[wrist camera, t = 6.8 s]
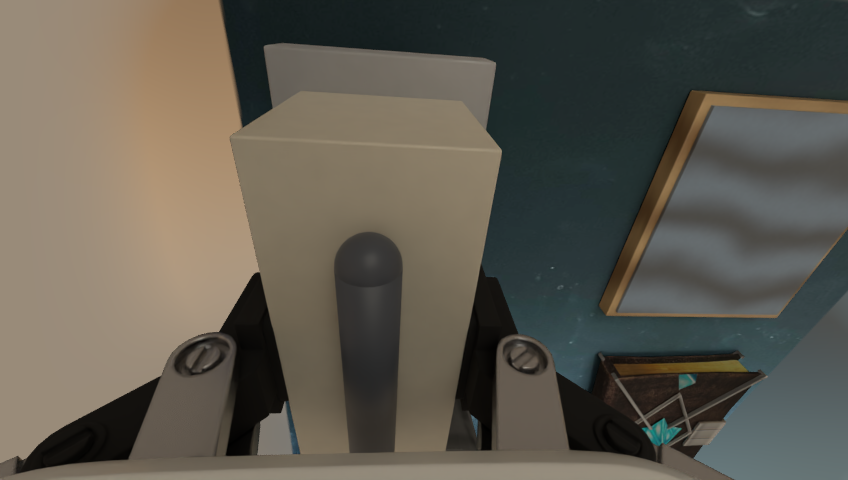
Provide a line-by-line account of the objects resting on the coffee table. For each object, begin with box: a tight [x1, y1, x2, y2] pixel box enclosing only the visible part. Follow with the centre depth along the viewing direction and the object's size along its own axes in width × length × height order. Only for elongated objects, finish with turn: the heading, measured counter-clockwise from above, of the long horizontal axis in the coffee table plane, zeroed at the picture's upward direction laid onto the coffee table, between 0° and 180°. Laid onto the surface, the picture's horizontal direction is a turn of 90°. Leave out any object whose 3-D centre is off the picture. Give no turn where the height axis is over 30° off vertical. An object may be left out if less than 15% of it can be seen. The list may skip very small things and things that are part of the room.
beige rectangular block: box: [230, 43, 502, 454], centre depth 10 cm, size 13×6×7 cm, turn 176°
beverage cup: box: [446, 399, 477, 451], centre depth 30 cm, size 7×7×20 cm
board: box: [599, 90, 848, 318], centre depth 29 cm, size 20×18×2 cm
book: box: [592, 350, 768, 458], centre depth 42 cm, size 22×17×5 cm
